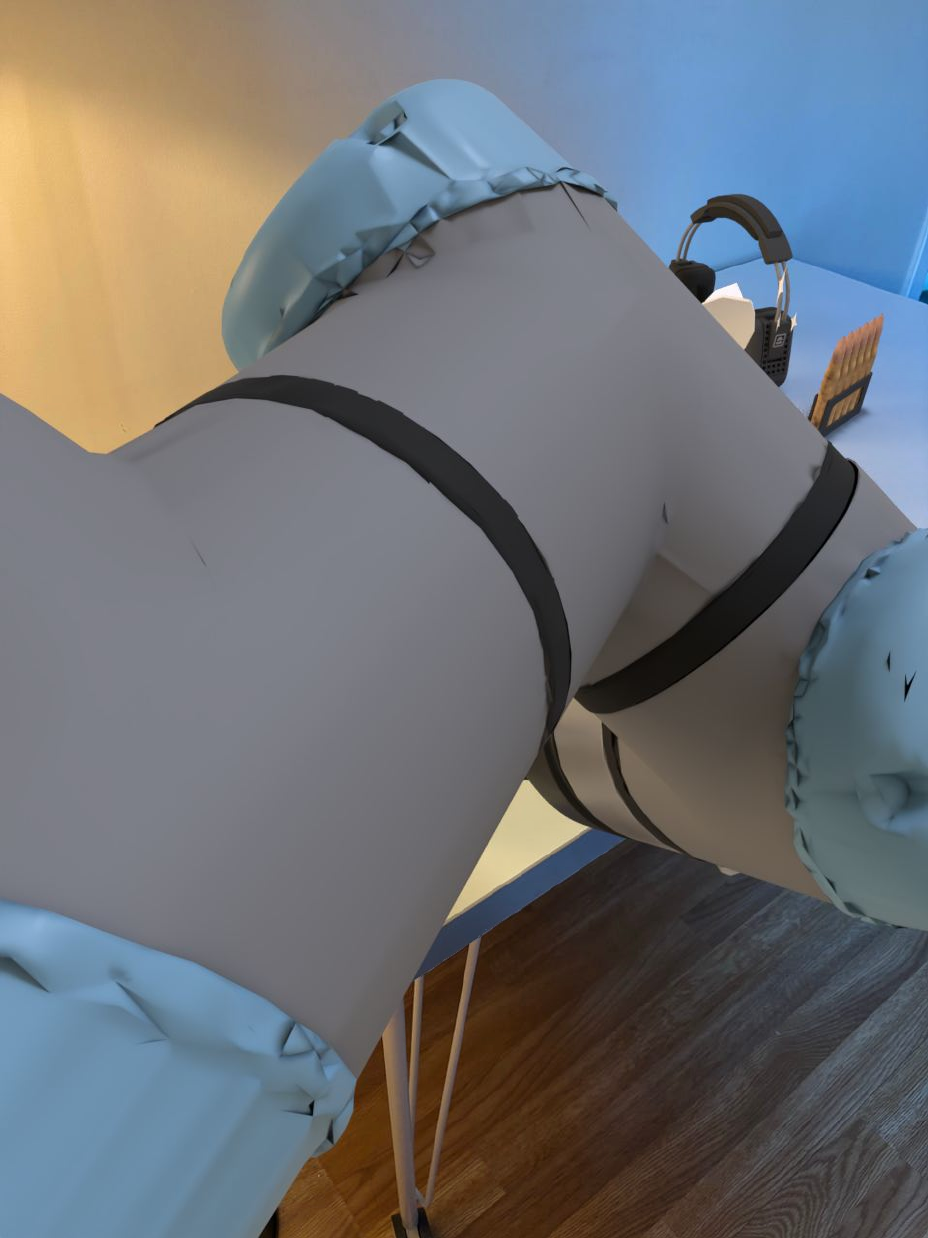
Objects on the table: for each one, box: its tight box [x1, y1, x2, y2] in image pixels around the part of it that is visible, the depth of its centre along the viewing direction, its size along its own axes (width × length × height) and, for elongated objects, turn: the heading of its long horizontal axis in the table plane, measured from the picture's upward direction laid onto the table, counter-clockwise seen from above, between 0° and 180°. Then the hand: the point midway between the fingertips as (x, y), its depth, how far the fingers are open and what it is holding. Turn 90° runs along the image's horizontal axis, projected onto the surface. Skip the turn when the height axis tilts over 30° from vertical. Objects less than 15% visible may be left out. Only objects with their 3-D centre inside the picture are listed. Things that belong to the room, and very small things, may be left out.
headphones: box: [668, 193, 794, 388], centre depth 115 cm, size 22×6×20 cm, turn 25°
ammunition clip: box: [807, 313, 885, 438], centre depth 107 cm, size 11×2×12 cm, turn 136°
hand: (482, 719), depth 51 cm, fingers open, 13 cm apart
